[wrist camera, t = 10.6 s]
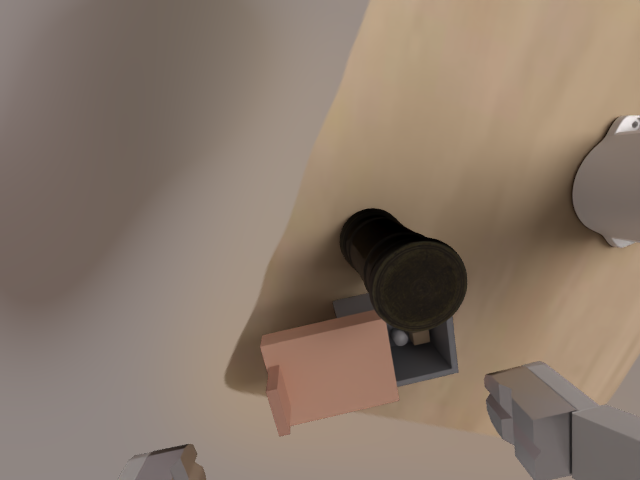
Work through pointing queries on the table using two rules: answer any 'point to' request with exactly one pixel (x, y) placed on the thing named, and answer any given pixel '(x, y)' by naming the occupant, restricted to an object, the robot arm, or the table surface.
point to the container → (404, 271)
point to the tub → (411, 345)
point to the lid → (328, 369)
